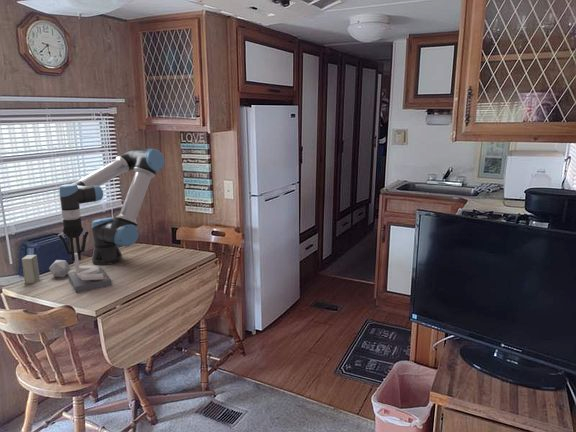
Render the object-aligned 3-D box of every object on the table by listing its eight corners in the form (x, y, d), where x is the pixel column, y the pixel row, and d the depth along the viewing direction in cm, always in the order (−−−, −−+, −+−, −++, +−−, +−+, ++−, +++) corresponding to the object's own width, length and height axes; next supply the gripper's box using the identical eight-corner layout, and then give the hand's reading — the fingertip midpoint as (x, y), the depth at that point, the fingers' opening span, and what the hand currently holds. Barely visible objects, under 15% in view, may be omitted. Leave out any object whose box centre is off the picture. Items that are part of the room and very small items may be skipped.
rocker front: (80, 277, 195) (80, 274, 195) (101, 276, 201) (101, 273, 200) (81, 280, 192) (82, 277, 192) (103, 279, 197) (103, 276, 197)
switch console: (68, 279, 207) (67, 271, 206) (102, 272, 215) (101, 265, 215) (75, 293, 190) (74, 285, 189) (111, 285, 198) (111, 277, 198)
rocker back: (75, 268, 207) (75, 265, 207) (95, 268, 212) (95, 265, 212) (76, 271, 203) (76, 268, 203) (97, 270, 208) (97, 267, 208)
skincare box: (30, 279, 208) (27, 254, 205) (40, 278, 208) (37, 254, 206) (24, 283, 202) (20, 258, 199) (34, 283, 202) (31, 258, 200)
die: (55, 281, 206) (66, 264, 206) (42, 271, 207) (53, 254, 208) (65, 281, 214) (77, 265, 214) (53, 272, 215) (64, 255, 216)
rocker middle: (77, 276, 201) (76, 273, 201) (97, 269, 206) (97, 266, 206) (79, 278, 198) (78, 276, 197) (99, 271, 202) (98, 269, 202)
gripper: (56, 221, 193) (62, 271, 198) (88, 217, 201) (93, 266, 206) (54, 218, 200) (60, 267, 205) (85, 215, 207) (90, 262, 212)
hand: (77, 266), depth 205 cm, fingers closed
